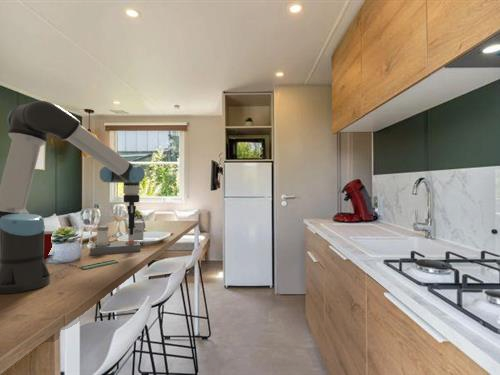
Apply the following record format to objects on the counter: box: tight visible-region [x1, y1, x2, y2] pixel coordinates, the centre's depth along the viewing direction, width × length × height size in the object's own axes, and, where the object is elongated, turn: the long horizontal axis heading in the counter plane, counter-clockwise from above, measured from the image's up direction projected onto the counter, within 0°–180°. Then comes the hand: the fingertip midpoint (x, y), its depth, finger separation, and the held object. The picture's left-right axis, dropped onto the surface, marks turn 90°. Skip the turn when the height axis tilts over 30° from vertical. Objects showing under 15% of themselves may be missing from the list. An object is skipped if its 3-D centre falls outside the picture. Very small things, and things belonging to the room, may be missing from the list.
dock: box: [89, 240, 141, 256], centre depth 147 cm, size 22×12×4 cm, turn 114°
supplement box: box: [134, 220, 145, 241], centre depth 169 cm, size 7×7×13 cm
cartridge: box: [96, 225, 109, 247], centre depth 144 cm, size 5×5×12 cm
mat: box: [69, 259, 119, 271], centre depth 126 cm, size 14×14×1 cm
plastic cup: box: [44, 230, 55, 260], centre depth 136 cm, size 11×11×12 cm
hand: (131, 240), depth 150 cm, fingers closed
